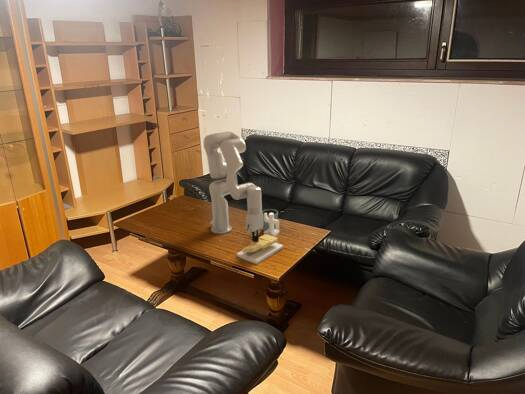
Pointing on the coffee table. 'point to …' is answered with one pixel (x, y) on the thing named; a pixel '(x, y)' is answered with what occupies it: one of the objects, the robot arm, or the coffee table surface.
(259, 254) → the board
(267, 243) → the key
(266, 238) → the key
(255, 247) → the key
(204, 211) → the coffee table surface
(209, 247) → the coffee table surface
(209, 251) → the coffee table surface
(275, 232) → the figurine
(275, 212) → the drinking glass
